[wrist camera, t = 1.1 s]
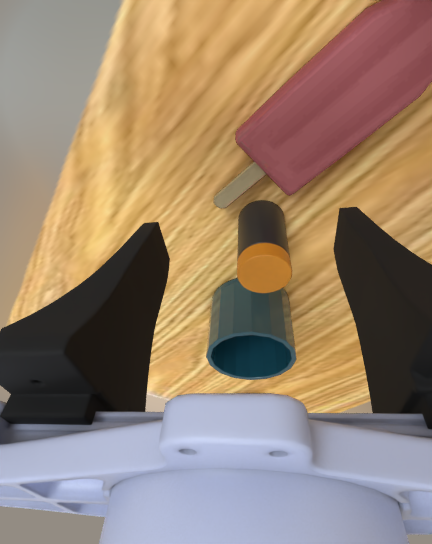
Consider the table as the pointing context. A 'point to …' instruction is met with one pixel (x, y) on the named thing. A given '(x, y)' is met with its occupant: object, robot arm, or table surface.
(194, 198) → the table surface
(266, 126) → the popsicle
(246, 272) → the glue stick
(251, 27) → the table surface
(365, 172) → the table surface
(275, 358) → the tumbler
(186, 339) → the table surface
